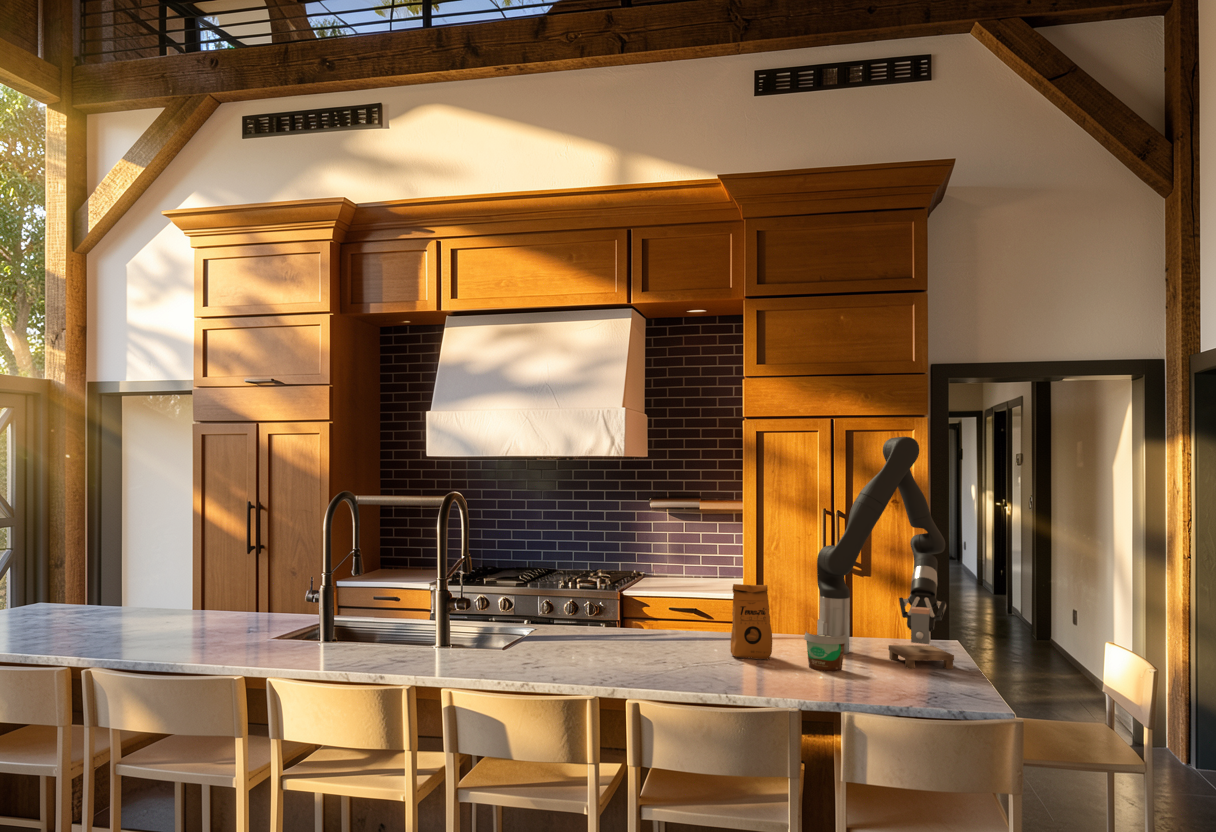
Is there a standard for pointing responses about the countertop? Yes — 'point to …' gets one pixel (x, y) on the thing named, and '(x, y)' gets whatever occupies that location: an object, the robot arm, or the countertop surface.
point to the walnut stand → (920, 654)
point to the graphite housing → (920, 625)
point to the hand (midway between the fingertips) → (920, 628)
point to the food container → (825, 652)
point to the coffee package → (751, 622)
